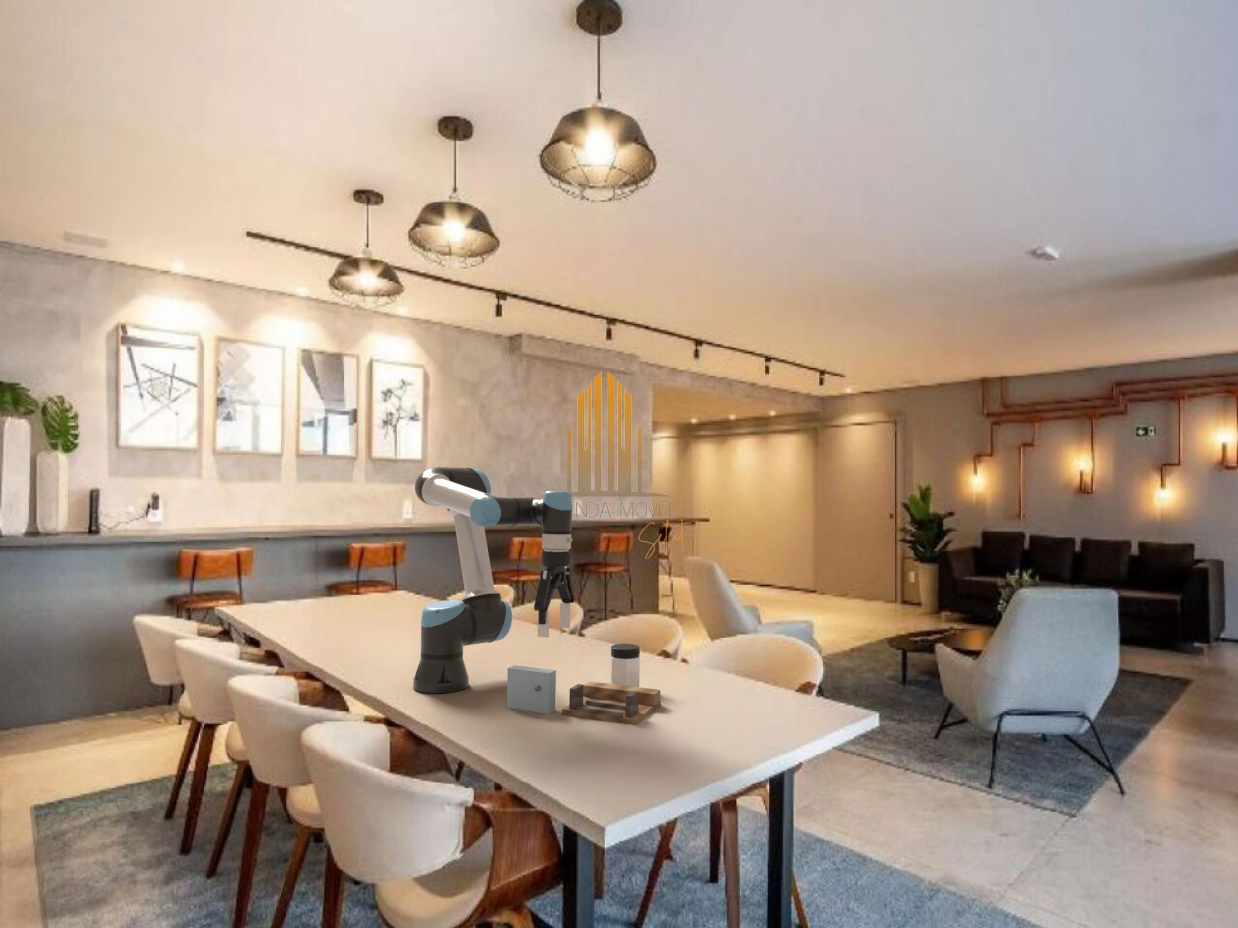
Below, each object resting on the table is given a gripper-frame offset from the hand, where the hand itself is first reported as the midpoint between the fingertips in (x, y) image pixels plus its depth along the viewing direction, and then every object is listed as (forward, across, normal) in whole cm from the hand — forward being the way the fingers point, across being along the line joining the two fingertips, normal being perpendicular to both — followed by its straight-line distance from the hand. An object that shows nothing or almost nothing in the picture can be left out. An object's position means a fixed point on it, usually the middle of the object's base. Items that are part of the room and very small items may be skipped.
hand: (554, 632), depth 187 cm
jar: (+19, +21, -13) cm, 31 cm away
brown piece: (+18, +2, -16) cm, 24 cm away
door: (+19, -5, +4) cm, 20 cm away
